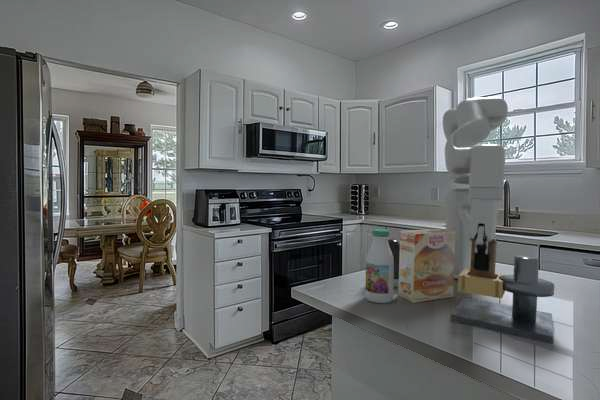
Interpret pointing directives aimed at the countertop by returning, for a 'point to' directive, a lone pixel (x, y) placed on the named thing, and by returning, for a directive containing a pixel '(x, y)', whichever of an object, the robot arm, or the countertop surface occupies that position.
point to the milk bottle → (379, 269)
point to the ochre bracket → (481, 284)
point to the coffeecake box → (426, 264)
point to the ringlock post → (513, 305)
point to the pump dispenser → (395, 260)
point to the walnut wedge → (492, 260)
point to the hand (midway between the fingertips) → (482, 267)
